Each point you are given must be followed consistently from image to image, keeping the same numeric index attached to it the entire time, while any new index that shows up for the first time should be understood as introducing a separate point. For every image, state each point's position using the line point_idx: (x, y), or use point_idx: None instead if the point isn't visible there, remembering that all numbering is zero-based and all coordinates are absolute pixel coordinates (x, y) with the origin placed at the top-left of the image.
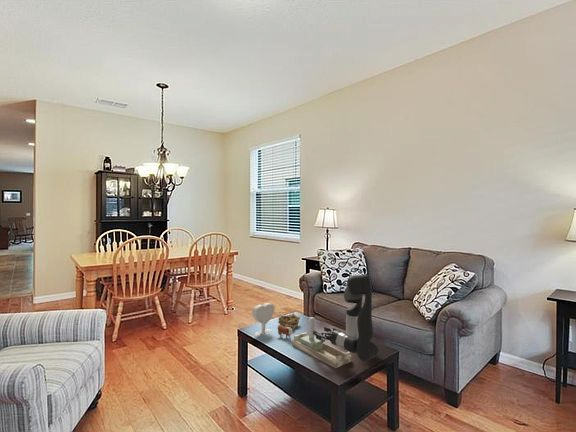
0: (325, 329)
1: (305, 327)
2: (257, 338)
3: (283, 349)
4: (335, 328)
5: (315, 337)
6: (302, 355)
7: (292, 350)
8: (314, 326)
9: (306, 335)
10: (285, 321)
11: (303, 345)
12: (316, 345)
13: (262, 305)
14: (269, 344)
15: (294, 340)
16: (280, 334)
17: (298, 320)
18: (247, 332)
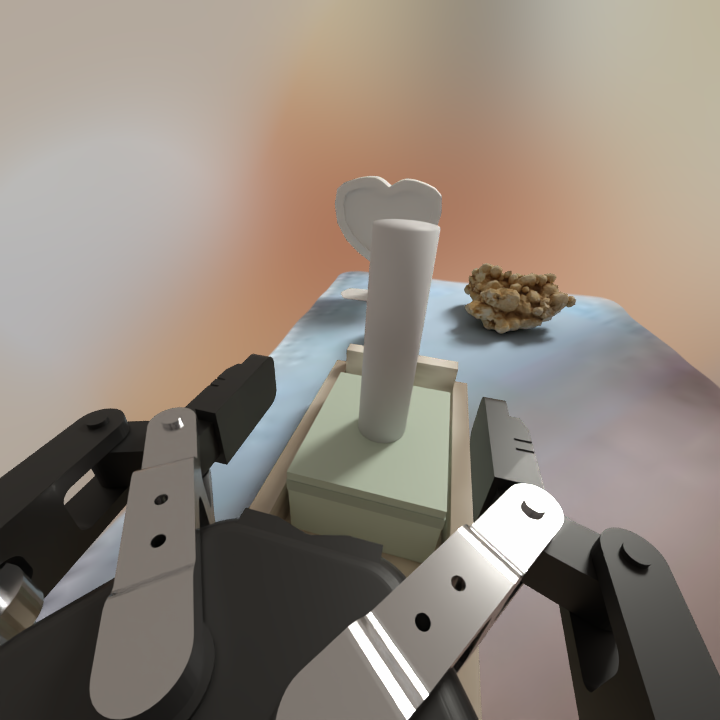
0: (476, 438)
1: (568, 353)
2: (320, 302)
3: (280, 381)
4: (676, 601)
5: (434, 433)
6: (253, 482)
7: (293, 412)
8: (412, 333)
9: (445, 382)
10: (483, 290)
11: (297, 428)
12: (344, 506)
13: (381, 179)
14: (296, 334)
15: (336, 369)
16: None
17: (547, 308)
18: (342, 280)
